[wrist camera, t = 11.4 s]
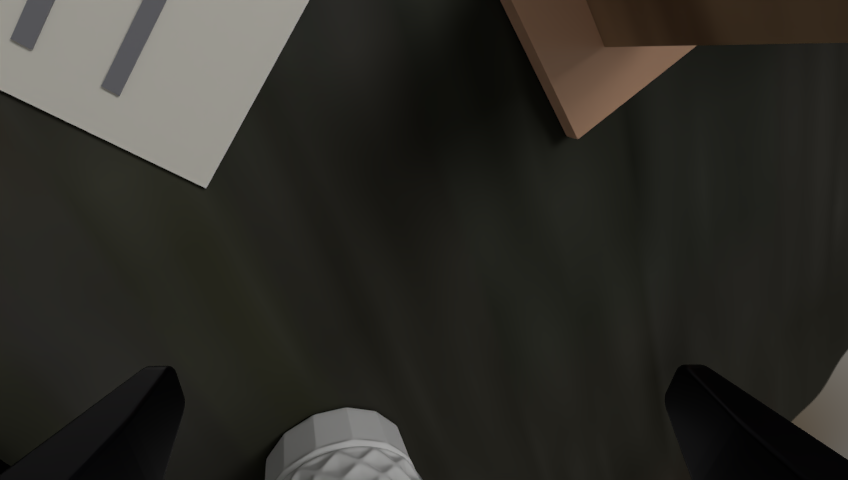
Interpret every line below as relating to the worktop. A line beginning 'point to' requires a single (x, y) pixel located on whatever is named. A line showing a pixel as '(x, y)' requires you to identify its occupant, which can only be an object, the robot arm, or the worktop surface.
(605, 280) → the worktop surface
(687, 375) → the robot arm
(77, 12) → the letter
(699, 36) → the walnut block
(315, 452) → the white cup
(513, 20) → the plate
